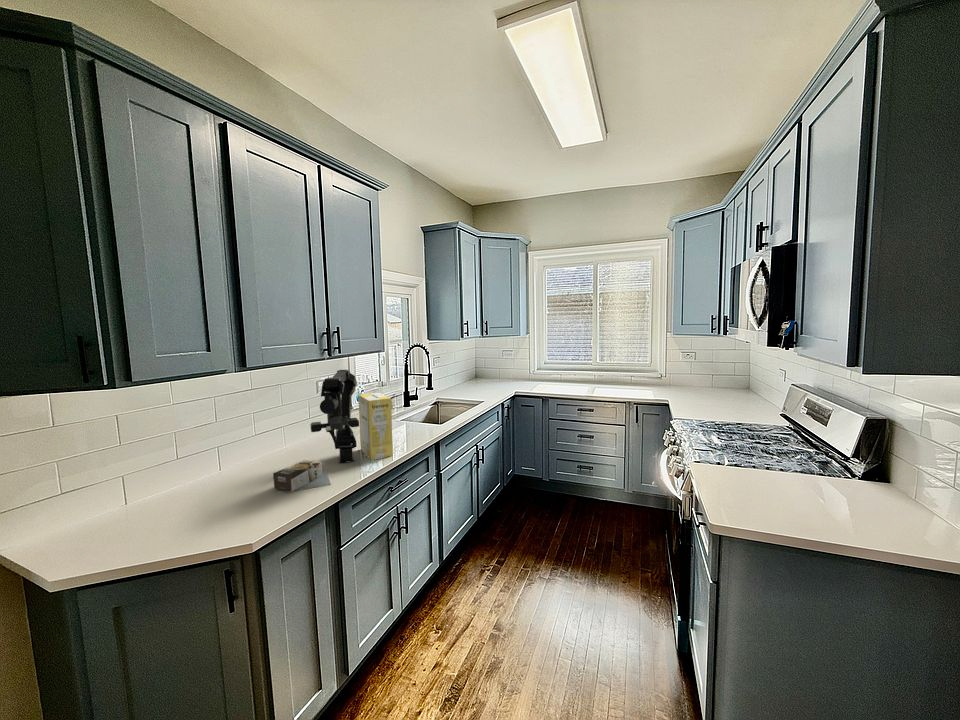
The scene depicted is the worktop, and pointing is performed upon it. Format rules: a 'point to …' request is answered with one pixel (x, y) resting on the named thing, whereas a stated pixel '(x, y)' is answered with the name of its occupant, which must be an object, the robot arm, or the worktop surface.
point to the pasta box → (375, 425)
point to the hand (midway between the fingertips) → (335, 444)
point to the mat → (316, 482)
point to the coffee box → (297, 475)
